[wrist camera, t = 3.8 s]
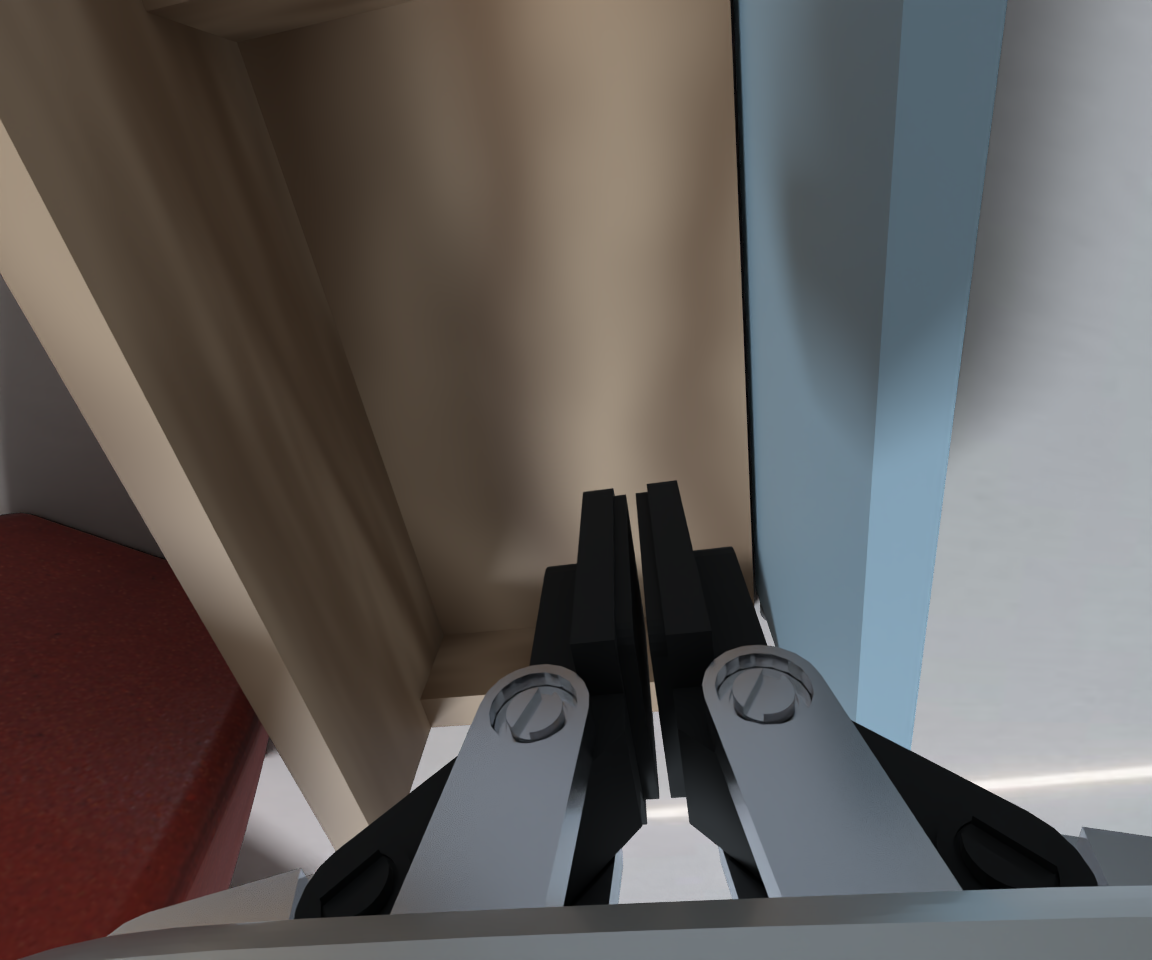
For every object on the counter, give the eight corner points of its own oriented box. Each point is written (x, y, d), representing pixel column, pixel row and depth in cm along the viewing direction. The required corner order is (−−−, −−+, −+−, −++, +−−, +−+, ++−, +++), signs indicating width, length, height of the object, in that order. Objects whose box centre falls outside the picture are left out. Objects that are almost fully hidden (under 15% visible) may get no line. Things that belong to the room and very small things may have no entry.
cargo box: (787, -147, 15) (1047, -624, 6) (790, 607, 25) (884, 840, 17) (196, 0, 17) (-269, -191, 8) (429, 640, 28) (342, 862, 19)
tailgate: (779, -71, 15) (1073, -504, 5) (785, 584, 25) (897, 856, 15) (731, -59, 15) (934, -460, 6) (755, 587, 25) (846, 858, 15)
